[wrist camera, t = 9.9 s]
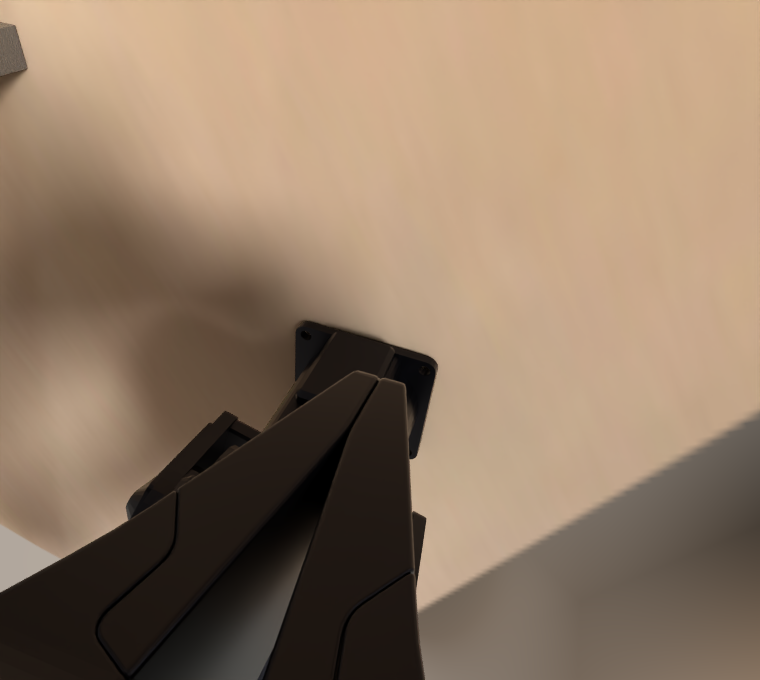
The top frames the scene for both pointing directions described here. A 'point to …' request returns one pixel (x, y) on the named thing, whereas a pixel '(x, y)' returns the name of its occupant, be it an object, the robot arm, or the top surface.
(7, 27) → the frame
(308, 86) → the top surface
